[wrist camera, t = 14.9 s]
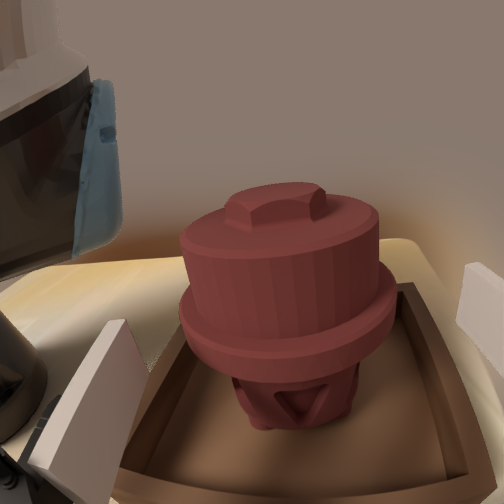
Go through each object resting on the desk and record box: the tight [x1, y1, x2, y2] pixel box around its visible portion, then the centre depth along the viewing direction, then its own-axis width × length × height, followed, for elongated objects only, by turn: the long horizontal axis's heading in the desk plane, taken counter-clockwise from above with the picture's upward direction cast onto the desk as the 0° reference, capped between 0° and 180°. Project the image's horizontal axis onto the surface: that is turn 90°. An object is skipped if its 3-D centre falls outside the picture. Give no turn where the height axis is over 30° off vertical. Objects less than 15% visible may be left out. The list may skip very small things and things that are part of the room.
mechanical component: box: [179, 182, 397, 431], centre depth 15 cm, size 12×10×10 cm
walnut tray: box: [111, 282, 497, 504], centre depth 17 cm, size 18×18×4 cm
